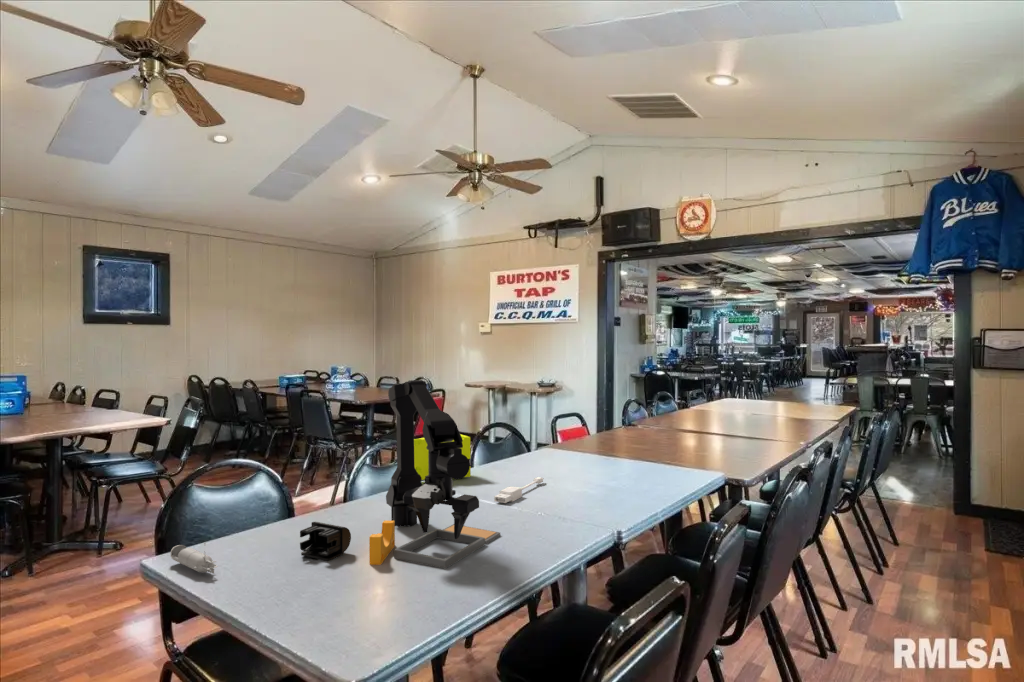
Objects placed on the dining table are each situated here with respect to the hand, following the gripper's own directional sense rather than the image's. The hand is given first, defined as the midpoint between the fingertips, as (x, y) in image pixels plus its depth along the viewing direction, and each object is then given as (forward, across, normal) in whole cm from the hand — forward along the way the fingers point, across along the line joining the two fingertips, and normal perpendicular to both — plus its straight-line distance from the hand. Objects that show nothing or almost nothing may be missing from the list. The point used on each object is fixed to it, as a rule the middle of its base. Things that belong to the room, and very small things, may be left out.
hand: (440, 535), depth 138 cm
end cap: (+4, -24, -14) cm, 28 cm away
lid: (+4, 0, +13) cm, 13 cm away
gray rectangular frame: (+4, 0, 0) cm, 4 cm away
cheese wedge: (+4, -45, +65) cm, 79 cm away
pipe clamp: (+4, -12, -8) cm, 15 cm away
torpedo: (+4, -44, -34) cm, 56 cm away
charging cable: (+4, -8, +57) cm, 58 cm away
